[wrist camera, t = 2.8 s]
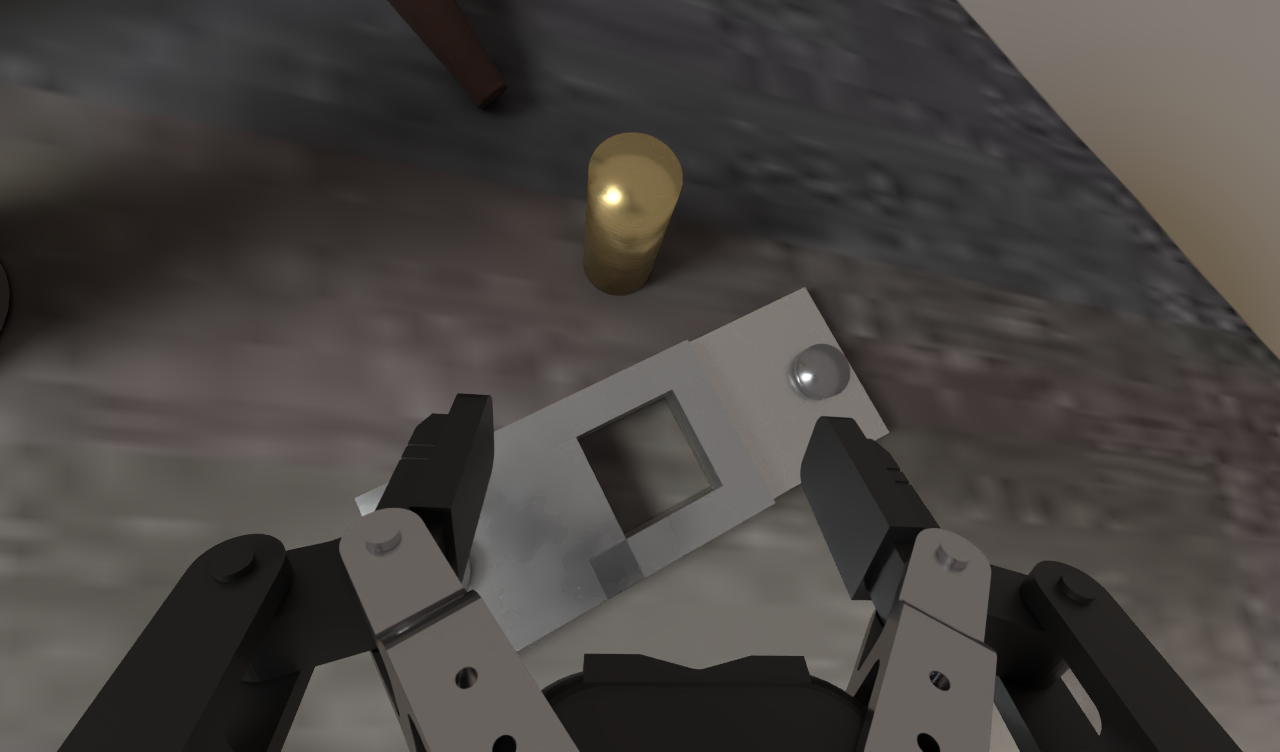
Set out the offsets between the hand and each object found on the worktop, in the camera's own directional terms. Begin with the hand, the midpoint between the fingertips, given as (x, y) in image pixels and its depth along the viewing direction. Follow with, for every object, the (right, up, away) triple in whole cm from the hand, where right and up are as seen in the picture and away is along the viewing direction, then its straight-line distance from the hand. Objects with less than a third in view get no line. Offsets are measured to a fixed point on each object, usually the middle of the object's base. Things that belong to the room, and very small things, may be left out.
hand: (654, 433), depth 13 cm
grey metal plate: (0, -3, +16) cm, 16 cm away
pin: (-2, +8, +18) cm, 20 cm away
